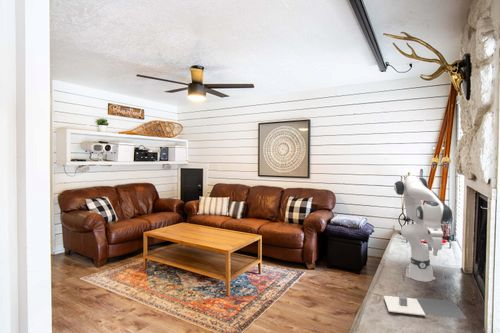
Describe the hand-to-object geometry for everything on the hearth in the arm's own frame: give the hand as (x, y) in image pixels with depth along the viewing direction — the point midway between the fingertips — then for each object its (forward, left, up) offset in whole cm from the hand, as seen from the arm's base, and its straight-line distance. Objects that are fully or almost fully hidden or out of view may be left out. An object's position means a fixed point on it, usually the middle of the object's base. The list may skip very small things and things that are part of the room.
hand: (432, 252), depth 170 cm
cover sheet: (+10, -18, -29) cm, 35 cm away
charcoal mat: (+4, +2, -31) cm, 31 cm away
